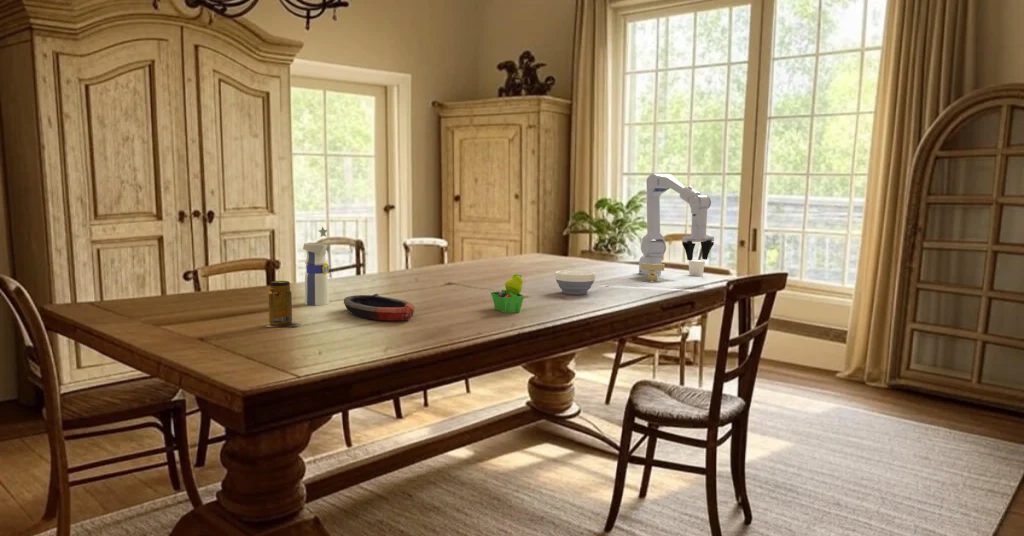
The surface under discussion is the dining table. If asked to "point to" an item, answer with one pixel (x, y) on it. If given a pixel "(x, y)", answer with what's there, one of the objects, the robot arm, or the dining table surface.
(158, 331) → the dining table surface
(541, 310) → the dining table surface
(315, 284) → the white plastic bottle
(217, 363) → the dining table surface
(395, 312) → the dish
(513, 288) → the fruit basket
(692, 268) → the beige cylinder
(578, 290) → the bowl
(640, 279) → the cover plate
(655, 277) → the t key
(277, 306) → the condiment
